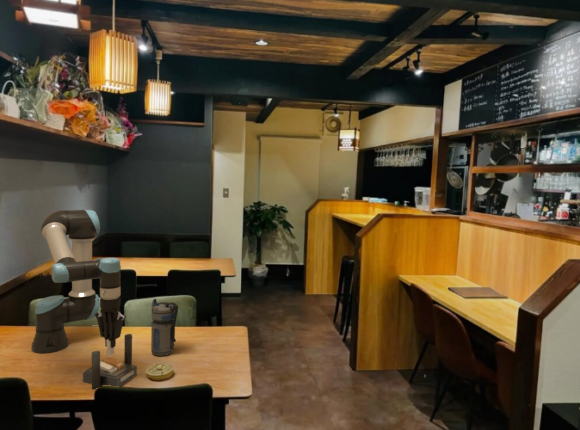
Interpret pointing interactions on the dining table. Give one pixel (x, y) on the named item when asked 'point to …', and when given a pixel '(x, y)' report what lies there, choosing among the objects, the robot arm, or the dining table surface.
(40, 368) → the dining table surface
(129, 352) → the post far
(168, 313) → the beverage bottle
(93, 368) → the post near
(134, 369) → the breaker box
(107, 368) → the paddle ivory
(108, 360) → the paddle orange
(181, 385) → the dining table surface
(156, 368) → the decorated donut
